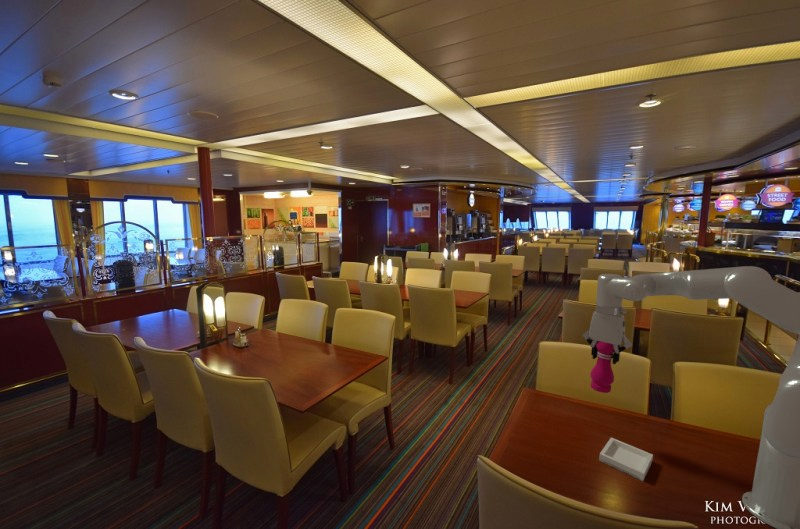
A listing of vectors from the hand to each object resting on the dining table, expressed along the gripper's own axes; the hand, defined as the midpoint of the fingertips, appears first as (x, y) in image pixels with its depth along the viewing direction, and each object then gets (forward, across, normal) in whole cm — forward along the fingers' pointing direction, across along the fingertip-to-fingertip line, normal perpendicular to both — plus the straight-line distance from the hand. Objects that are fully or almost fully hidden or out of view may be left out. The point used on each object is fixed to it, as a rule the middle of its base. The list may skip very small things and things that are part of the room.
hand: (604, 359), depth 120 cm
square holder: (+29, -10, +8) cm, 32 cm away
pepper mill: (+11, +1, 0) cm, 11 cm away
